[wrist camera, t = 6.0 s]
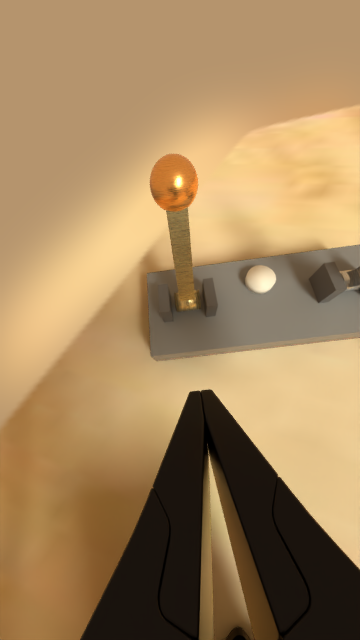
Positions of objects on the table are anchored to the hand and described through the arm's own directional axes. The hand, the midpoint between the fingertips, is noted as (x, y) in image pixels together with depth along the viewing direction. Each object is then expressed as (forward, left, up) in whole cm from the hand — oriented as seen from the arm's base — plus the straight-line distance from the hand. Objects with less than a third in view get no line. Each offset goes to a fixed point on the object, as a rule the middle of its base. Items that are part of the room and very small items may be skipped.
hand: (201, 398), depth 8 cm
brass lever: (+4, +6, -6) cm, 10 cm away
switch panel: (+10, +2, -10) cm, 14 cm away
